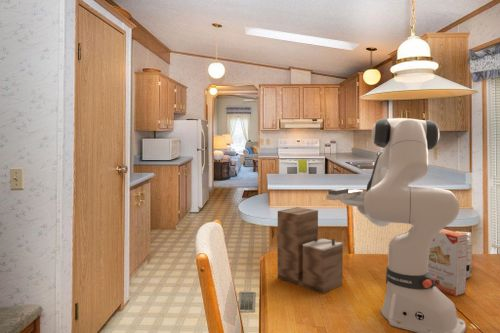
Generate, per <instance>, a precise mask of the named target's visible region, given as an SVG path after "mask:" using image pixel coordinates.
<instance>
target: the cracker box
mask: <svg viewBox="0 0 500 333" xmlns="http://www.w3.org/2000/svg"><path fill="white" fill-rule="evenodd" d="M458 232H459V231H458ZM458 232H456V231H454V230H449V229H445V228H443V229H442V230H440V231H439V232H438V234H437V235H436V236H435V238H434V239H433V241H432V244H431V247H430V252H429V261H428V271H429V272H430V274H431V275H432V276H435V275H437V276H436V278H437V279H436V280H435V287H437V288H438V289H439V290H440V291H441V292H442V293H443V292H444V293H446V294H448V295H450V296H454V297H457V296H460V295H463V294H466V293H467V292H466V291H467V288H466V287H467V285H466V284H467V279H466V267H467V236H468V235H467V234H463V233H458Z"/></svg>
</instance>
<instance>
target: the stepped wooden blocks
mask: <svg viewBox="0 0 500 333" xmlns="http://www.w3.org/2000/svg"><path fill="white" fill-rule="evenodd" d="M318 229H319V211H318V209H311V208H305V207H298V206H296V207H292V208H287V209H281V210H278V211H277V279H279V280H282V281H285V282H288V283H290V284H293V285H297V286H300V287H303V288H306V289H309V290H312V291H314V292H318V293H321V294H326V293H328V292H330V291H332V290H334V289H336V288H338V287H340V286H342V285H343V267H344V266H343V263H344V262H343V260H344V259H343V257H344V255H343V252H344V251H343V250H344V243H343V242H341V241H337V240H336V239H334V238H333V239H327V238H323V237H321V238H319V230H318Z"/></svg>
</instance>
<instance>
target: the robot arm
mask: <svg viewBox="0 0 500 333" xmlns="http://www.w3.org/2000/svg"><path fill="white" fill-rule="evenodd" d="M371 139H372V141H373V143H374V145H375V146H376V147H379V148H383V150H382V151H381V152H380V153H379V154H378V155H377V157H376V159H375V162H374V166H373V169H372V173H371V177H370V178H369V181H368V183H367V185H366V192H363V191H359V193H358V195H359V196H357V197H352V198H347V199H341V200H339V201H340V202H342V204H344V205H346V206H349V207H355V208H357V211H359V213H360V214H362V215H363V217H365V218H366V219H367V220H368V221H370V223H372V224H373V225H375V226H378V227H382V228H383V227H386V226H389V224H391V223H393V224H408V225H411V226H410V228H409V230H408V231H406V232H403V233H401V234H399V235H395V236H394V237H393V238H392V239H391V240H389V243H388V247H387V248H388V249H387V256H388V258H387V265H386V273H385V283H386V290H385V296H384V301H383V305H382V308H381V311H380V312H381V315H382V316H383V317H384V318H385V319H387V321H388V324H389V325H390V326H391V327H395V328H399V329H404V330H406V331H410V332H414V333H465V332H466V329H467V327H466V322H465V321H464V319H462V318H459V317H458V313H457V308H456V306H455V303H454V302H453V301H452V300H451V299H450V298H449V297H447V296H446V295H445V294H444V293H443V291H441V290H439V289H438V288H437V287H435V280H436V279H437V278H436V276H437V275H435V276H432V275H431V274H430V272H429V271H428V261H429V252H430V247H431V244H432V241H433V239H434V238H435V236H436V235H437V234H438V232H439V231H440V230H442V229H445V227H447V226H449V225H451V224H452V223H453V222H454V221H455V220H456V219H457V217H458V215H459V213H460V203H459V200H458V198H457V197H456V195H455V194H454V193H453V192H452V191H451V190H448V189H445V188H444V189H443V188H438V187H432V186H431V187H430V186H409V185H410V184H412V183H415V182H418V181H420V180H421V179H423V177H425V176H426V175H427V174H428V171H429V151H428V150H433V149H434V148H435V147H436V146H437V144H438V142H439V139H440V130H439V125H438V123H437V122H435V121H432V120H428V119H424V120H422V119H417V118H416V119H415V118H406V117H403V118H402V117H396V118H394V117H393V118H380V119H377V120H376V121H375V122H374V124H373V126H372V128H371Z"/></svg>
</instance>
